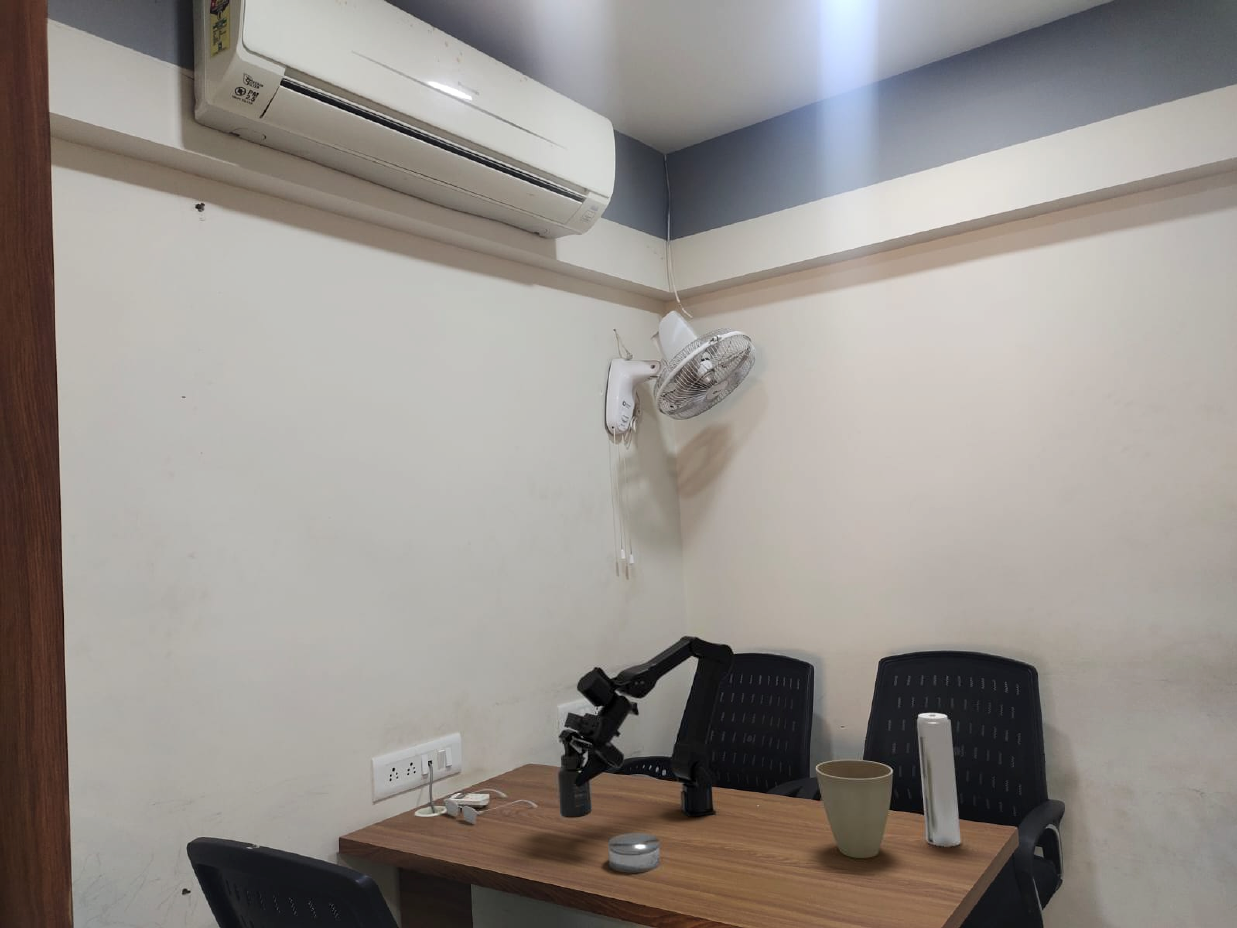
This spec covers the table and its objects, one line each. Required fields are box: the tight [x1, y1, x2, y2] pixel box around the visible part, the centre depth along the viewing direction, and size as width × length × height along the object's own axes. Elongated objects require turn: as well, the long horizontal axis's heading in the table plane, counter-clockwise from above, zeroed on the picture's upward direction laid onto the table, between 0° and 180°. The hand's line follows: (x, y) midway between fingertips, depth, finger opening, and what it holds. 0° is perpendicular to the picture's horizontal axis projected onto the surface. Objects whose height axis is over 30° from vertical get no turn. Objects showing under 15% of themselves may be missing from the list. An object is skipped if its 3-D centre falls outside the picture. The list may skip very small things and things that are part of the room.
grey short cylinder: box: [607, 832, 661, 874], centre depth 164 cm, size 10×10×4 cm
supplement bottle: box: [556, 753, 593, 819], centre depth 175 cm, size 7×7×12 cm
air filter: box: [916, 712, 962, 848], centre depth 168 cm, size 6×6×25 cm
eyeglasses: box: [443, 788, 538, 825], centre depth 202 cm, size 15×18×4 cm
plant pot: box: [815, 759, 894, 859], centre depth 165 cm, size 15×15×16 cm
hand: (568, 782), depth 175 cm, fingers closed on supplement bottle, 7 cm apart
